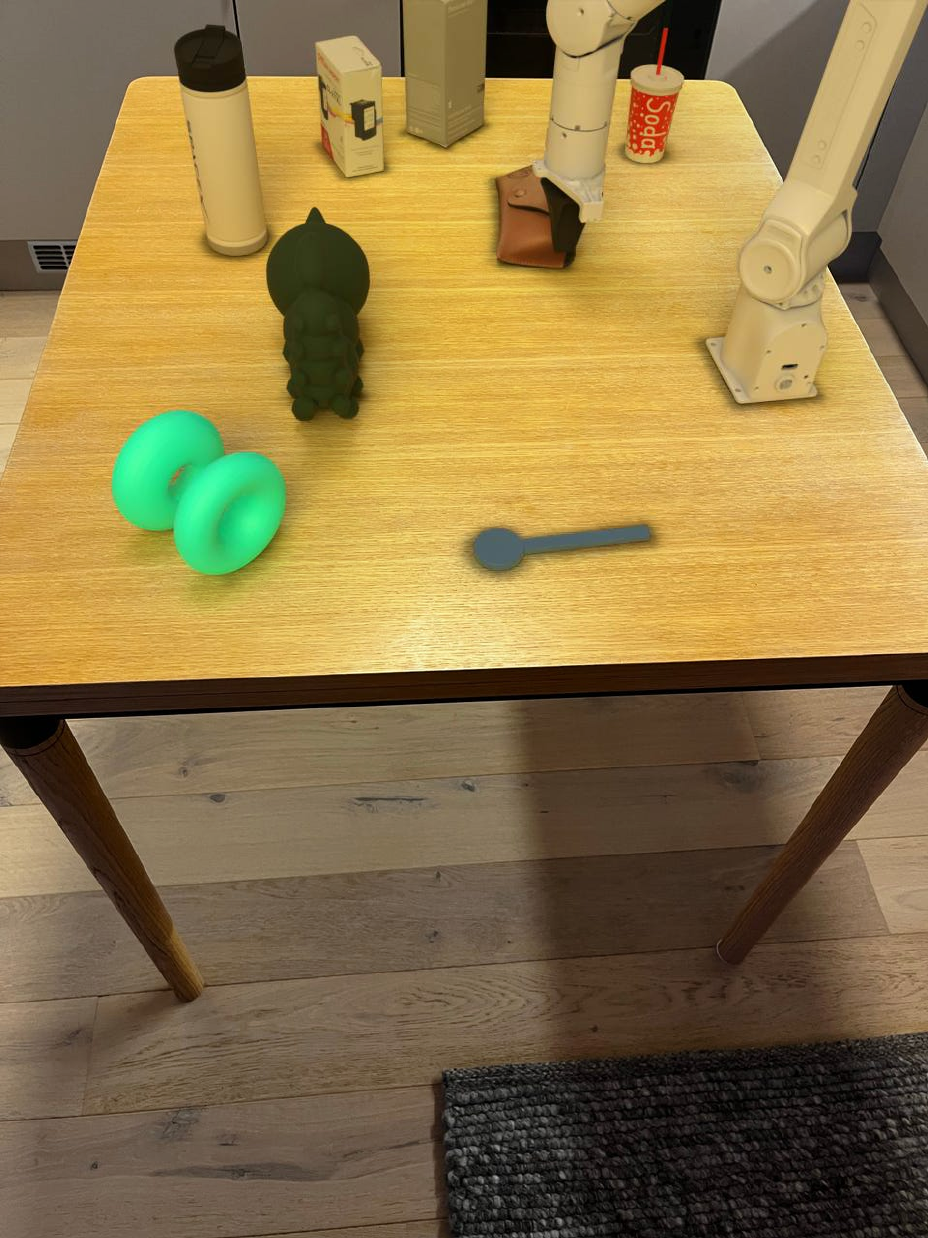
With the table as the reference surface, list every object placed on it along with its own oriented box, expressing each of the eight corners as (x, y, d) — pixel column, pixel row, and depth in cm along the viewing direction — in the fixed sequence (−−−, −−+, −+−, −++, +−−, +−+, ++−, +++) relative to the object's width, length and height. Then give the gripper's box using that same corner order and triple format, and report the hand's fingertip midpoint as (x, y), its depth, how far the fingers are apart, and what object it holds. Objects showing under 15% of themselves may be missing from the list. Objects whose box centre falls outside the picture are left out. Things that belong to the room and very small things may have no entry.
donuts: (215, 475, 85) (195, 380, 77) (300, 533, 81) (287, 439, 73) (120, 541, 80) (88, 446, 72) (205, 605, 76) (181, 513, 68)
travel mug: (274, 225, 109) (249, 25, 93) (260, 259, 105) (232, 56, 89) (217, 220, 109) (183, 20, 93) (201, 254, 105) (163, 51, 89)
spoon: (654, 553, 81) (656, 547, 80) (478, 573, 79) (479, 567, 78) (640, 517, 83) (642, 511, 83) (469, 536, 81) (469, 530, 81)
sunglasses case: (490, 174, 116) (523, 125, 112) (539, 205, 119) (574, 158, 115) (495, 262, 105) (532, 212, 101) (549, 294, 108) (587, 246, 104)
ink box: (320, 144, 120) (312, 38, 111) (358, 137, 122) (353, 32, 112) (346, 178, 115) (339, 71, 106) (385, 171, 117) (382, 64, 108)
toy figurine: (382, 463, 89) (367, 278, 102) (377, 287, 73) (360, 96, 86) (275, 468, 88) (274, 281, 101) (245, 291, 72) (249, 97, 85)
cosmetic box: (446, 150, 120) (448, 4, 108) (399, 131, 123) (397, -13, 110) (487, 124, 125) (495, -18, 112) (442, 106, 127) (444, -35, 115)
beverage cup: (613, 160, 120) (633, 35, 109) (623, 137, 124) (643, 13, 113) (664, 170, 119) (689, 43, 108) (672, 146, 123) (697, 22, 112)
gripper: (521, 83, 97) (511, 215, 107) (556, 158, 88) (542, 293, 98) (591, 79, 98) (574, 210, 108) (634, 153, 89) (611, 288, 99)
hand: (563, 250), depth 103 cm, fingers closed
